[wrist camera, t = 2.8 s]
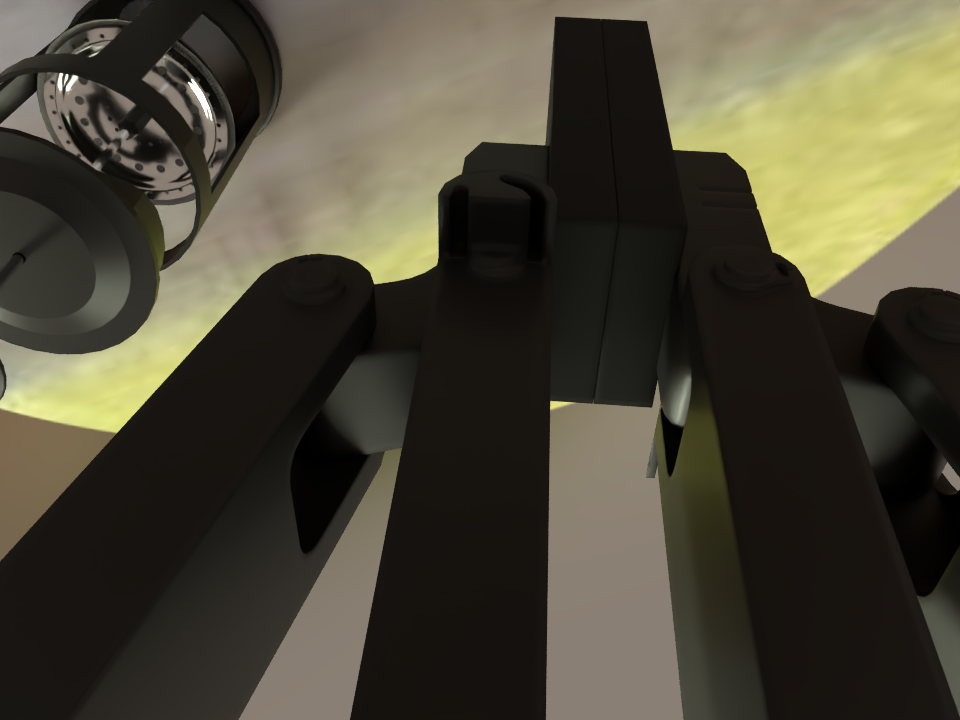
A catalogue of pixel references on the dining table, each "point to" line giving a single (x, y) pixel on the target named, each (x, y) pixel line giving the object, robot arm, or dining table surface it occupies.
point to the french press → (116, 165)
